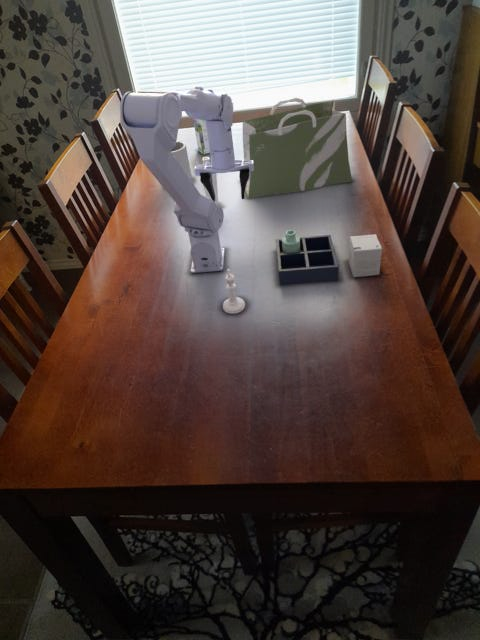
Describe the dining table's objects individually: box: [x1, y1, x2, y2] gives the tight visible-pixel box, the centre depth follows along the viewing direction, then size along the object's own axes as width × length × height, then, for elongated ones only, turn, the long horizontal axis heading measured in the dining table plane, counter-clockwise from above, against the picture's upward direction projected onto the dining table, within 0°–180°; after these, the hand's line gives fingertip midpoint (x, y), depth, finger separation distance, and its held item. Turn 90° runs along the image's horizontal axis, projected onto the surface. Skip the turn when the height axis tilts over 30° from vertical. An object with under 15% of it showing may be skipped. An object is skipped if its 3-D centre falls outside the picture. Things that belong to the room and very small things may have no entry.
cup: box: [170, 140, 193, 182], centre depth 146 cm, size 9×9×12 cm
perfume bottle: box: [201, 156, 220, 205], centre depth 130 cm, size 5×4×15 cm
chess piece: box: [222, 268, 246, 315], centre depth 97 cm, size 5×5×10 cm
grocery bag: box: [242, 97, 353, 199], centre depth 134 cm, size 32×14×23 cm, turn 98°
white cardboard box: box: [348, 233, 383, 278], centre depth 103 cm, size 6×6×7 cm
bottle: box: [281, 229, 300, 253], centre depth 108 cm, size 4×4×7 cm
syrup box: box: [192, 119, 210, 155], centre depth 163 cm, size 6×6×14 cm
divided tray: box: [275, 234, 339, 286], centre depth 107 cm, size 13×13×4 cm
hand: (228, 198), depth 118 cm, fingers open, 7 cm apart
